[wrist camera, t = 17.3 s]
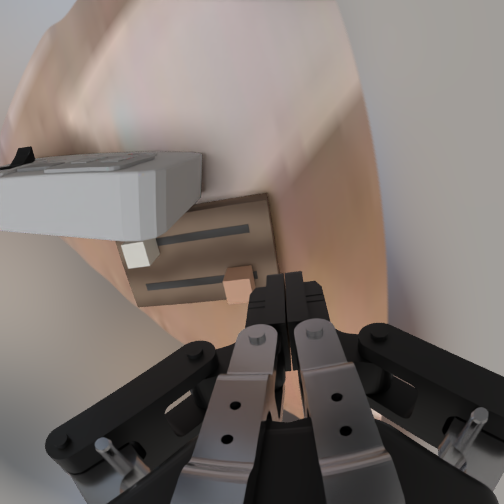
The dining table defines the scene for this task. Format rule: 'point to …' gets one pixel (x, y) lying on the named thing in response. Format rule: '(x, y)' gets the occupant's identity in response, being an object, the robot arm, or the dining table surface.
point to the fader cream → (140, 252)
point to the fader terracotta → (238, 284)
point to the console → (207, 252)
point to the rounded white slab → (99, 193)
